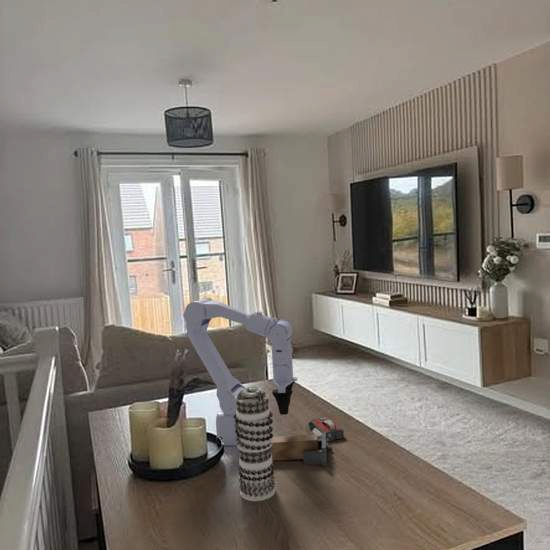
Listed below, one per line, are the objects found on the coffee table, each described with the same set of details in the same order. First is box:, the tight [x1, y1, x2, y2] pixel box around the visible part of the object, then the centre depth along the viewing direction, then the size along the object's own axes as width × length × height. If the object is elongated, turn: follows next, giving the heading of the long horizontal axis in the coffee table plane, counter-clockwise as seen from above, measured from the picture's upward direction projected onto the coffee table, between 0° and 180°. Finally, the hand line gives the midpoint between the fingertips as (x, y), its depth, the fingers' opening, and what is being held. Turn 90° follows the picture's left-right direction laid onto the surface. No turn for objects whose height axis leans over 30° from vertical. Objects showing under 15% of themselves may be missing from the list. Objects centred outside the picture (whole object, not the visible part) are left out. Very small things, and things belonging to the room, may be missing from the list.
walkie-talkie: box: [308, 416, 345, 451], centre depth 152 cm, size 9×4×20 cm
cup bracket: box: [302, 432, 327, 467], centre depth 139 cm, size 6×10×5 cm, turn 175°
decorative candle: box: [233, 386, 276, 502], centre depth 122 cm, size 9×9×25 cm
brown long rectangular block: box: [271, 434, 319, 462], centre depth 140 cm, size 16×4×5 cm, turn 85°
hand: (285, 409), depth 148 cm, fingers open, 7 cm apart
